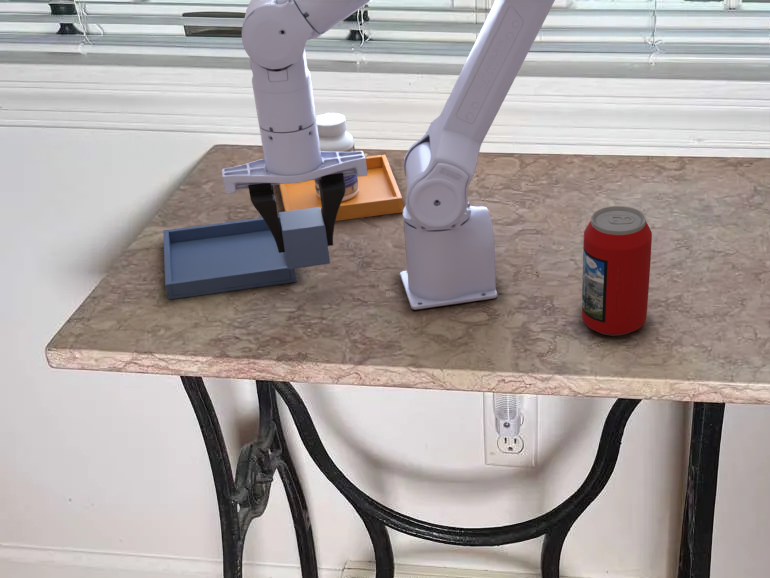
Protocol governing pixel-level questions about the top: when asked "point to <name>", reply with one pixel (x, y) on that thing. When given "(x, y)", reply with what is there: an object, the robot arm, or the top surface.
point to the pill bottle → (336, 146)
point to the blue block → (304, 238)
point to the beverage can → (616, 270)
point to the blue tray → (222, 258)
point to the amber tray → (371, 200)
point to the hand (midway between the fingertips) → (305, 244)
